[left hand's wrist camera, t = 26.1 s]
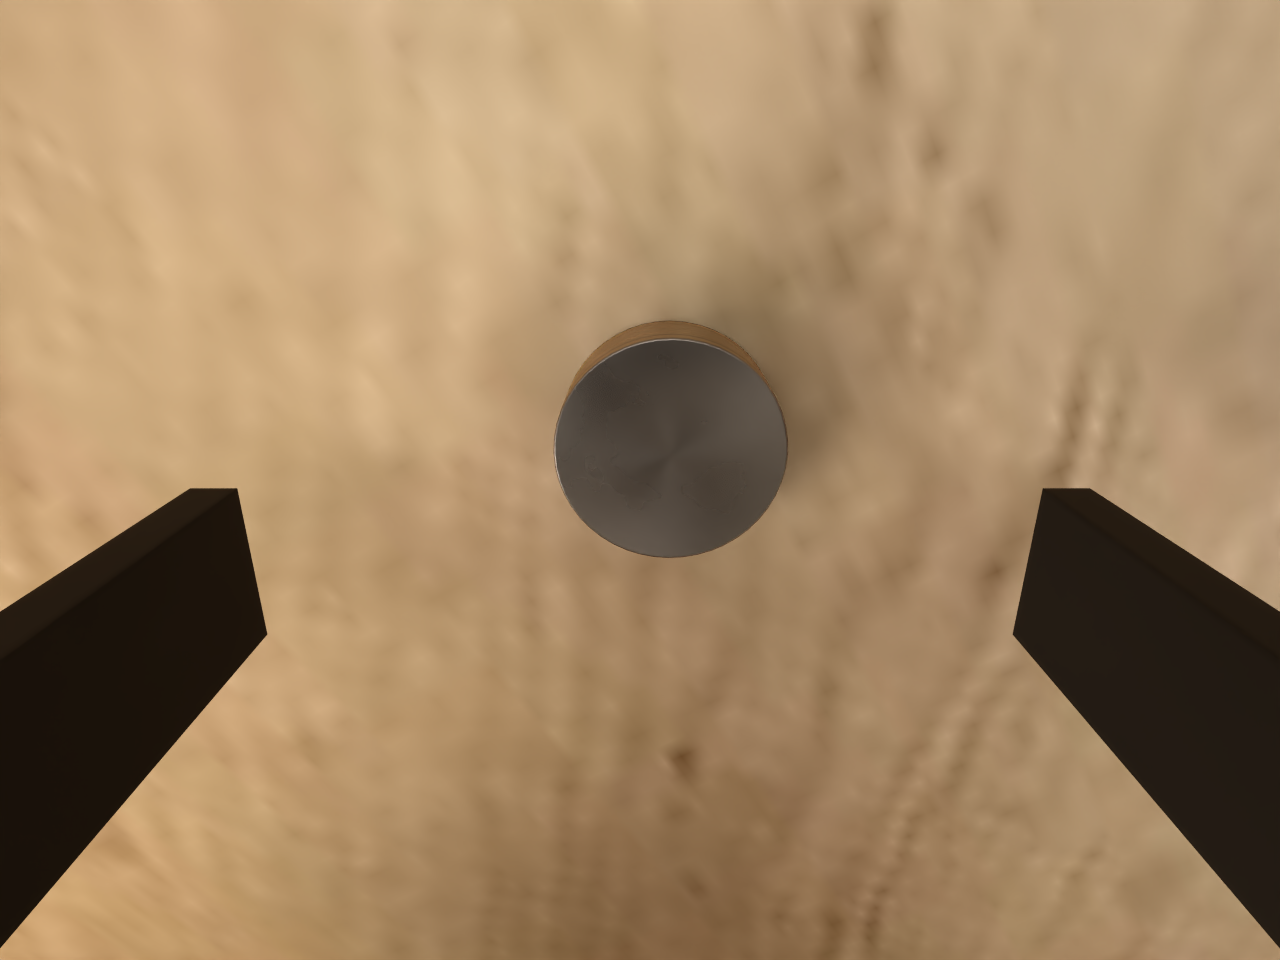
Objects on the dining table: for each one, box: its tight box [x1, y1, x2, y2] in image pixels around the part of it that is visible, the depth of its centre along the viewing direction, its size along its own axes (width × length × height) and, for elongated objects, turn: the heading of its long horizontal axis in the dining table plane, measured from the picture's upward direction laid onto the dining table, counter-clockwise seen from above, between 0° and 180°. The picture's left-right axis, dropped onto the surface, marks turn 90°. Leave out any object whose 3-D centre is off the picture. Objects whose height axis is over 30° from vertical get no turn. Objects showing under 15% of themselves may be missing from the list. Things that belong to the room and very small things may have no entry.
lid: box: [554, 321, 788, 558], centre depth 16 cm, size 5×5×2 cm
